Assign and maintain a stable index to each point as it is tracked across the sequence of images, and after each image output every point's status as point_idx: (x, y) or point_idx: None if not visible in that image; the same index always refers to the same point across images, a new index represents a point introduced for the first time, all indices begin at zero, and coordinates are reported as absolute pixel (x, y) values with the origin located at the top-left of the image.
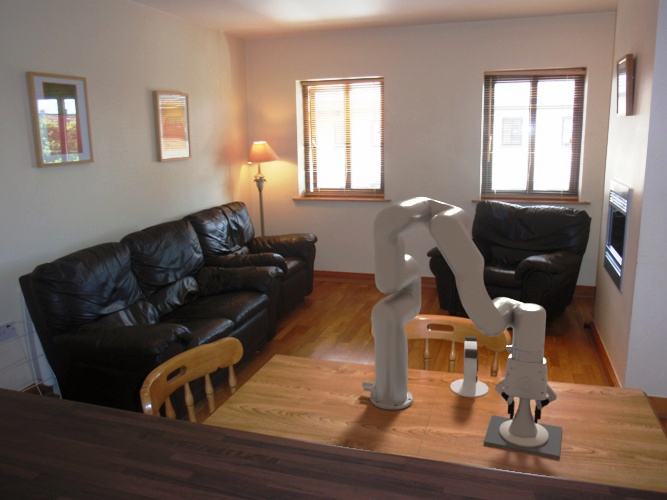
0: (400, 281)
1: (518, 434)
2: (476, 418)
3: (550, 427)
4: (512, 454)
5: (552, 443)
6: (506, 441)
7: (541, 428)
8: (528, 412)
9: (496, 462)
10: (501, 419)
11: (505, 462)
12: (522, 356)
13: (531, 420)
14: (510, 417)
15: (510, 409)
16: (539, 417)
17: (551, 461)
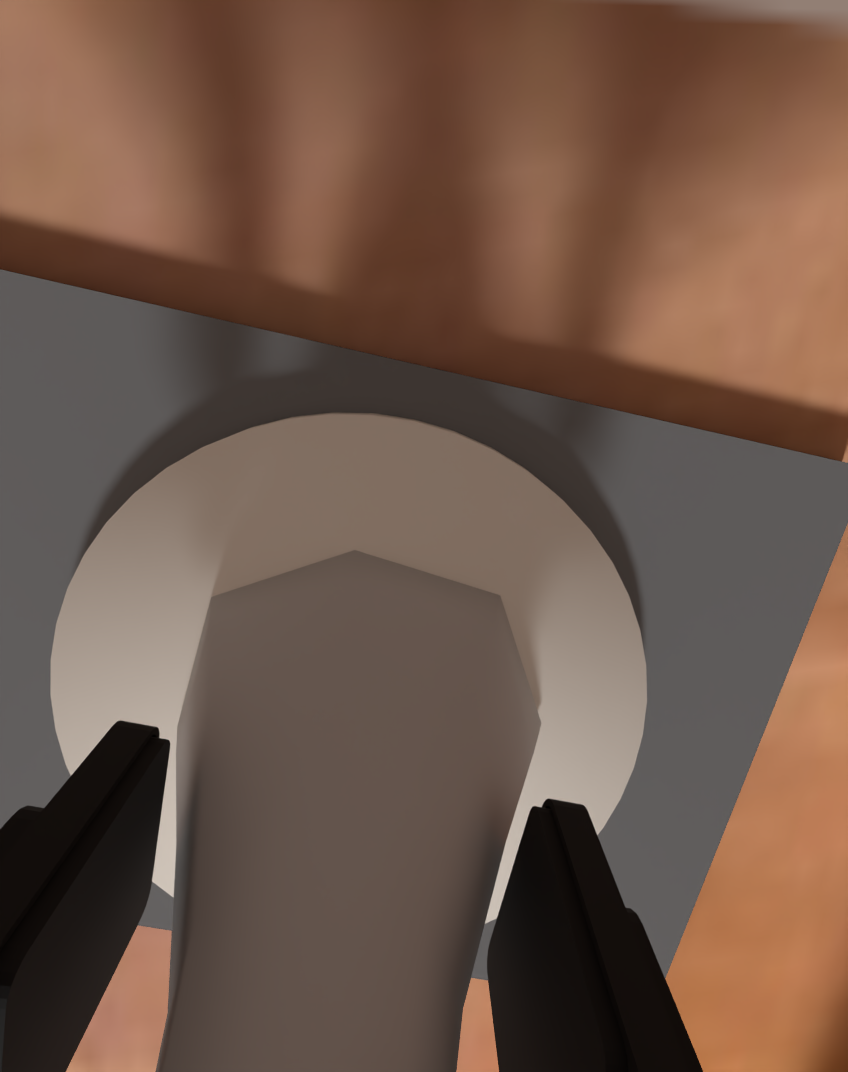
0: None
1: (435, 589)
2: (804, 943)
3: None
4: (531, 280)
5: (21, 543)
6: (582, 506)
7: None
8: (228, 917)
9: (769, 43)
10: None
11: (650, 62)
12: None
13: (207, 770)
14: (580, 818)
15: (644, 965)
16: (24, 831)
17: (59, 185)
